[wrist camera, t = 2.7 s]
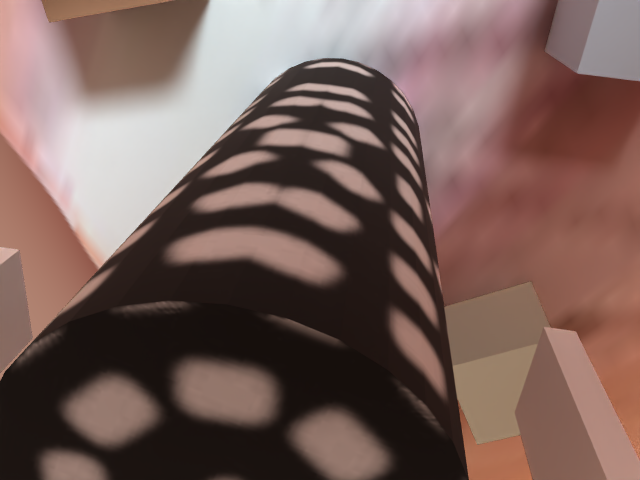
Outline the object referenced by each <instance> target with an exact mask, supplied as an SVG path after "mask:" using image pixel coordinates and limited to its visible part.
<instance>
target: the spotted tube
mask: <svg viewBox="0 0 640 480" xmlns="http://www.w3.org/2000/svg"><path fill="white" fill-rule="evenodd" d="M0 480H469V478H468V471H467V464H466V457H465V450H464V443H463V436H462V429H461V422H460V414H459V407H458V400H457V393H456V386H455V379H454V372H453V365H452V358H451V351H450V344H449V337H448V330H447V323H446V316H445V309H444V302H443V295H442V288H441V281H440V274H439V267H438V260H437V253H436V246H435V238H434V231H433V224H432V217H431V210H430V203H429V196H428V189H427V182H426V175H425V168H424V161H423V154H422V147H421V140H420V133H419V126H418V123H417V120H416V117H415V114H414V111H413V109H412V107H411V106H410V104H409V102H408V101H407V99H406V97H405V96H404V94H403V93H402V92H401V91H400V90H399V89H398V87H397V86H396V85H395V84H394V83H393V82H392V81H391V80H390V79H388V78H387V77H385V76H384V75H383V74H381V73H380V72H379V71H377V70H375V69H373V68H371V67H368V66H366V65H364V64H362V63H359V62H355V61H350V60H346V59H334V58H323V59H317V60H312V61H307V62H304V63H302V64H299V65H297V66H294V67H292V68H289V69H288V70H287V71H285V72H284V73H282V74H281V75H279V76H278V77H276V78H275V79H274V80H273V81H272V82H271V83H270V84H269V85H268V86H267V87H266V88H265V89H264V90H263V92H262V93H261V94H260V95H259V96H258V97H257V98H256V99H255V100H254V101H253V102H252V104H251V105H250V106H249V107H248V108H247V109H246V110H245V111H244V112H243V113H242V114H241V115H240V117H239V118H238V119H237V120H236V121H235V122H234V123H233V124H232V125H231V126H230V127H229V129H228V130H227V131H226V132H225V133H224V134H223V135H222V136H221V137H220V138H219V139H218V141H217V142H216V143H215V144H214V145H213V146H212V147H211V148H210V149H209V150H208V151H207V152H206V154H205V155H204V156H203V157H202V158H201V159H200V160H199V161H198V162H197V163H196V164H195V166H194V167H193V168H192V169H191V170H190V171H189V172H188V173H187V174H186V175H185V176H184V177H183V179H182V180H181V181H180V182H179V183H178V184H177V185H176V186H175V187H174V188H173V189H172V191H171V192H170V193H169V194H168V195H167V196H166V197H165V198H164V199H163V200H162V201H161V203H160V204H159V205H158V206H157V207H156V208H155V209H154V210H153V211H152V212H151V213H150V214H149V216H148V217H147V218H146V219H145V220H144V221H143V222H142V223H141V224H140V225H139V226H138V228H137V229H136V230H135V231H134V232H133V233H132V234H131V235H130V236H129V237H128V238H127V239H126V241H125V242H124V243H123V244H122V245H121V246H120V247H119V248H118V249H117V250H116V251H115V253H114V254H113V255H112V256H111V257H110V258H109V259H108V260H107V261H106V262H105V263H104V265H103V266H102V267H101V268H100V269H99V270H98V271H97V272H96V273H95V274H94V276H92V278H91V279H90V280H89V281H88V282H87V283H86V284H85V286H83V287H82V289H81V290H80V291H79V292H78V293H77V294H76V295H75V296H74V297H73V298H72V299H71V301H70V302H69V303H68V304H67V305H66V306H65V307H64V308H63V309H62V310H61V311H60V312H59V314H58V315H57V316H56V317H55V318H54V319H53V320H52V321H51V322H50V323H49V324H48V326H47V327H46V328H45V329H44V330H43V331H42V332H41V333H40V334H39V335H38V337H36V339H35V340H34V341H33V342H32V343H31V344H30V345H29V346H28V347H27V348H26V349H25V350H24V352H23V353H22V354H21V355H20V356H19V357H18V358H17V359H16V360H15V361H14V363H13V364H12V365H11V366H10V367H9V368H8V369H7V370H6V371H5V373H4V375H3V377H2V379H1V381H0Z"/></svg>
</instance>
